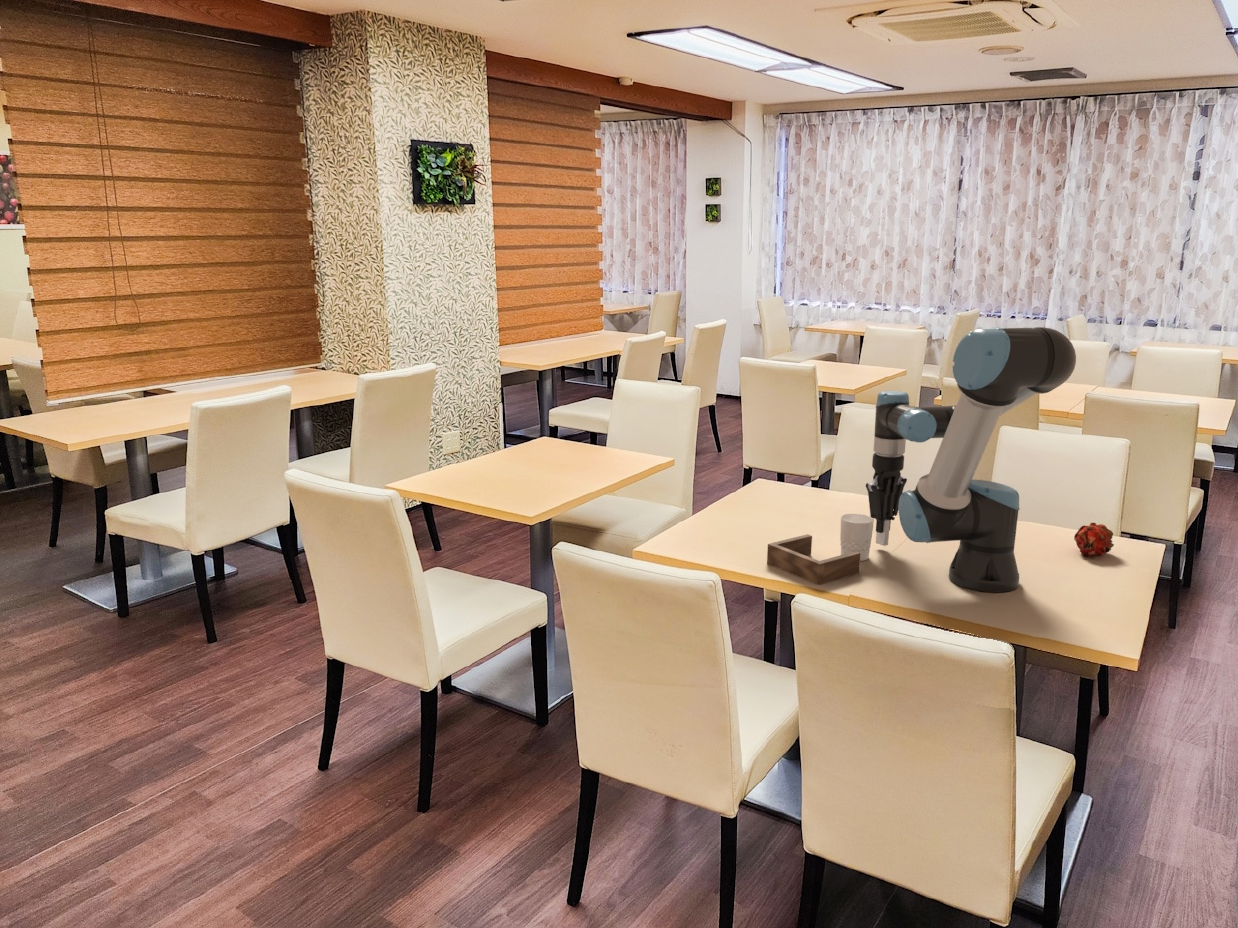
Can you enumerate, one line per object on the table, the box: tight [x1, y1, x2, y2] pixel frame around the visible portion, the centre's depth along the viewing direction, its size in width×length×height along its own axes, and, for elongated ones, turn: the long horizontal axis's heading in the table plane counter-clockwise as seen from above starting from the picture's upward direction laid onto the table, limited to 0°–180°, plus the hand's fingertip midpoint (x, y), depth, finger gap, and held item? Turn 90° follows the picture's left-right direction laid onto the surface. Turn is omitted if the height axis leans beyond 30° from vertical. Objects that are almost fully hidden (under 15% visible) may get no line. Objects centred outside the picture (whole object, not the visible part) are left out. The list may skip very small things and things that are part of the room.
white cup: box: [839, 513, 875, 562], centre depth 229 cm, size 8×8×10 cm
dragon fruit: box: [1073, 522, 1115, 557], centre depth 232 cm, size 8×8×12 cm
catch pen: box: [766, 534, 861, 586], centre depth 222 cm, size 17×14×5 cm
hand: (881, 543), depth 236 cm, fingers closed
